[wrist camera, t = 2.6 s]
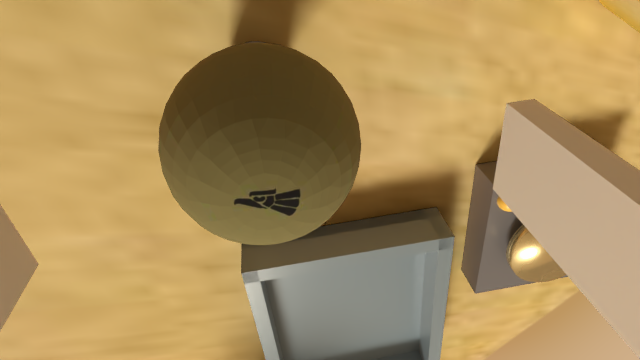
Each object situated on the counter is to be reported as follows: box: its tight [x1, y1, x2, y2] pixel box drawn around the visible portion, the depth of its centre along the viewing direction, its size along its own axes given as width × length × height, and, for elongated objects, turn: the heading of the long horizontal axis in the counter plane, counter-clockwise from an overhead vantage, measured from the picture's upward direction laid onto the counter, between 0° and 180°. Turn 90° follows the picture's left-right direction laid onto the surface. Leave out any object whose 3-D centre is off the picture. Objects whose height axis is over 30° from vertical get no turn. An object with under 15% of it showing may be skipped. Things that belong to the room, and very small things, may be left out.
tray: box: [241, 207, 455, 360], centre depth 26 cm, size 13×11×2 cm
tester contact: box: [506, 225, 566, 282], centre depth 23 cm, size 5×5×1 cm
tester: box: [461, 161, 568, 293], centre depth 24 cm, size 8×7×3 cm
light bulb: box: [159, 41, 361, 245], centre depth 14 cm, size 6×6×10 cm
